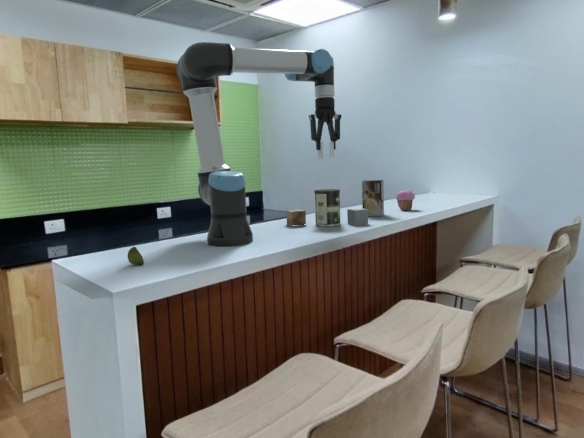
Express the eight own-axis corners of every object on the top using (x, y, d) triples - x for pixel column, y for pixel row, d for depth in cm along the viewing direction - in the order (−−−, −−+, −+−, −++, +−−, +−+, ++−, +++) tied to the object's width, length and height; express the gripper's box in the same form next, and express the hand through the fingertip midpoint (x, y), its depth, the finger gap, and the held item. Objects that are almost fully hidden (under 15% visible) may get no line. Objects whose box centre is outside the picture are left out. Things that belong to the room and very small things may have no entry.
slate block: (355, 225, 165) (354, 210, 164) (347, 223, 171) (347, 208, 170) (368, 224, 168) (367, 208, 167) (360, 222, 173) (360, 207, 172)
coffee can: (341, 222, 174) (340, 188, 172) (339, 226, 164) (338, 190, 162) (317, 222, 176) (316, 189, 174) (313, 226, 166) (312, 191, 164)
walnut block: (292, 226, 168) (291, 211, 167) (286, 224, 174) (286, 210, 173) (305, 225, 171) (305, 210, 170) (300, 223, 176) (299, 208, 175)
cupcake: (418, 209, 206) (418, 189, 205) (406, 211, 201) (406, 190, 200) (404, 208, 214) (404, 188, 212) (392, 210, 209) (392, 190, 207)
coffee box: (384, 214, 194) (384, 179, 192) (382, 216, 188) (381, 180, 186) (364, 214, 197) (364, 180, 195) (361, 216, 191) (361, 180, 189)
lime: (134, 262, 115) (133, 244, 114) (149, 263, 114) (148, 245, 113) (123, 266, 111) (122, 248, 110) (139, 267, 110) (137, 248, 109)
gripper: (339, 99, 169) (340, 158, 173) (300, 98, 163) (302, 159, 166) (348, 96, 163) (349, 157, 166) (308, 95, 156) (310, 159, 159)
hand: (326, 158), depth 166 cm, fingers open, 4 cm apart
